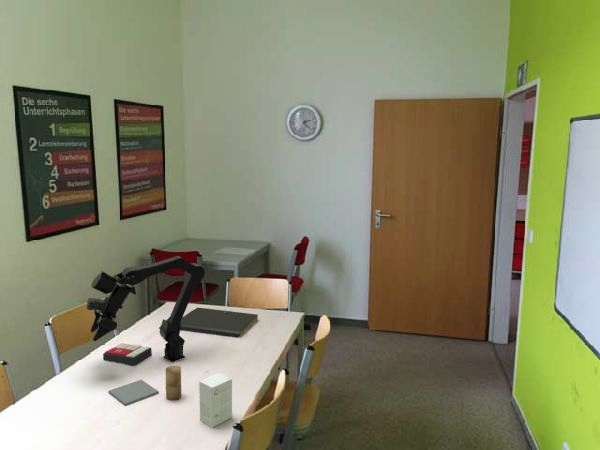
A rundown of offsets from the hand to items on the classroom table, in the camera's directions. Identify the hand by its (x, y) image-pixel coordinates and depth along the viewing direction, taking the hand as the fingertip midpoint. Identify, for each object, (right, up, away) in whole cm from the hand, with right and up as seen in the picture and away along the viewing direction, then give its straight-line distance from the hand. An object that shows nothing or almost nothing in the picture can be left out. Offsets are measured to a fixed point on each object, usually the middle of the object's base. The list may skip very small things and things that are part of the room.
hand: (92, 336), depth 176 cm
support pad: (+19, -17, -11) cm, 28 cm away
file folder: (+36, -8, +56) cm, 67 cm away
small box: (+50, -20, -26) cm, 59 cm away
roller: (+33, -18, -13) cm, 40 cm away
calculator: (+7, -13, +17) cm, 22 cm away
